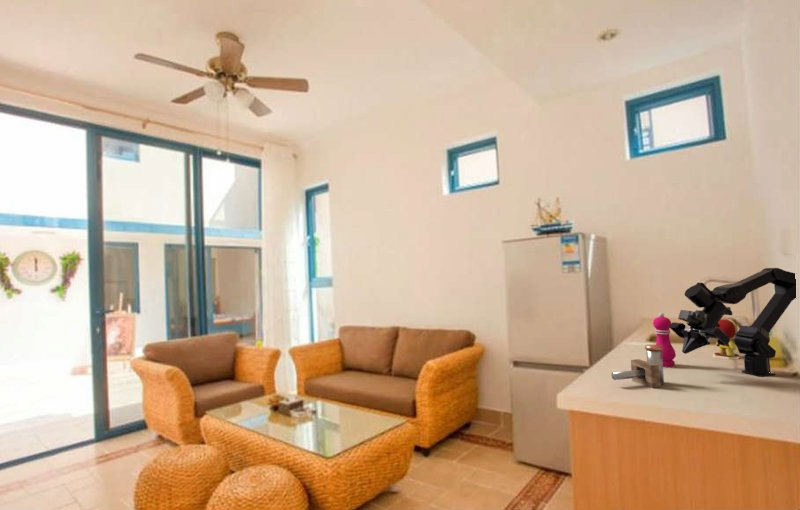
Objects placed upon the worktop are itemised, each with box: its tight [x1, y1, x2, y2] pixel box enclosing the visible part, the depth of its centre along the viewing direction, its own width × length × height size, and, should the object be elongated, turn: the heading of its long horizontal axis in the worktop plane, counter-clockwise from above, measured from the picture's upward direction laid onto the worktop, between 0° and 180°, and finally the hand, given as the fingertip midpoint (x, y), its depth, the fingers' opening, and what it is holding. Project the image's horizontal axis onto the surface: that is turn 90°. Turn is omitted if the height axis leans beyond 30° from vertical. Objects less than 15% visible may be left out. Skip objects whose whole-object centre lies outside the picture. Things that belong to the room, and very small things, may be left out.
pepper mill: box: [652, 312, 677, 368], centre depth 159 cm, size 7×7×20 cm
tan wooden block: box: [630, 358, 661, 389], centre depth 137 cm, size 3×9×7 cm, turn 8°
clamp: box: [611, 343, 665, 385], centre depth 137 cm, size 18×5×12 cm, turn 98°
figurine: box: [712, 318, 741, 360], centre depth 168 cm, size 9×10×15 cm
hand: (683, 352), depth 139 cm, fingers closed
